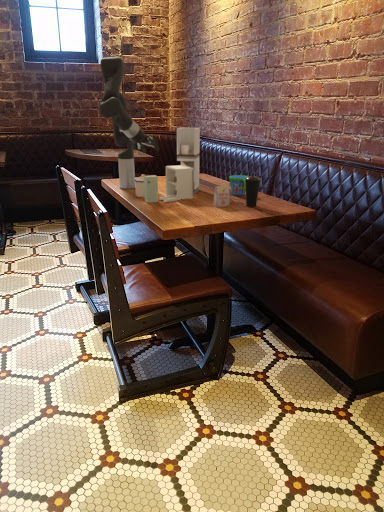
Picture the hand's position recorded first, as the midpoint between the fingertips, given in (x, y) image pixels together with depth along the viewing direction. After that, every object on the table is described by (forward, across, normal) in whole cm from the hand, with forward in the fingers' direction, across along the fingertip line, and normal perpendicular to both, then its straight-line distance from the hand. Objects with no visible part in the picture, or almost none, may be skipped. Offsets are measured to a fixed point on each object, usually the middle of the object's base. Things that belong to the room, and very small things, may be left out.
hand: (151, 151), depth 209 cm
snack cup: (+45, -30, +1) cm, 54 cm away
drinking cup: (+31, -48, +17) cm, 59 cm away
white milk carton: (+23, -35, +20) cm, 47 cm away
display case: (+36, -1, +2) cm, 36 cm away
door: (+10, -1, +24) cm, 26 cm away
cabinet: (+21, -5, +16) cm, 27 cm away
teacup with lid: (+17, +12, +16) cm, 26 cm away
